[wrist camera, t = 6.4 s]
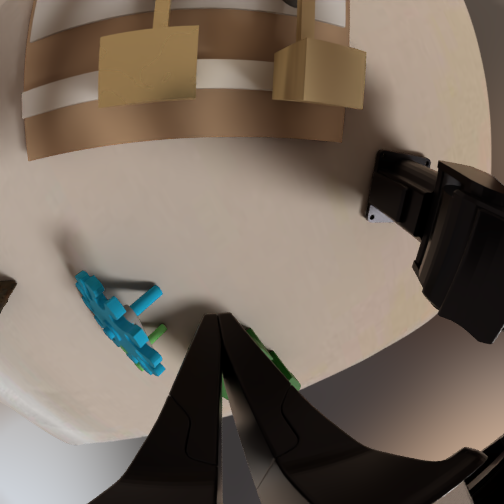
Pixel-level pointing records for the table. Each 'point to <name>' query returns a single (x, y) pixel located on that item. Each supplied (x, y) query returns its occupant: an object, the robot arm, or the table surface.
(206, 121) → the wooden base with blocks
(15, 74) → the table surface
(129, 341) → the gear
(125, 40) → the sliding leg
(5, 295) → the hand tool
